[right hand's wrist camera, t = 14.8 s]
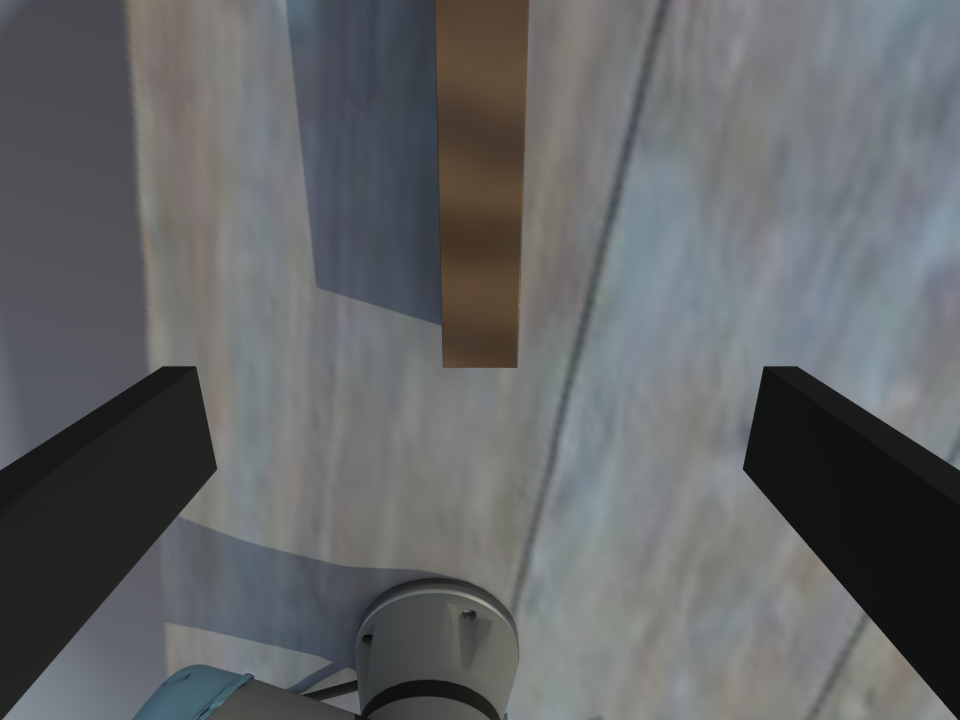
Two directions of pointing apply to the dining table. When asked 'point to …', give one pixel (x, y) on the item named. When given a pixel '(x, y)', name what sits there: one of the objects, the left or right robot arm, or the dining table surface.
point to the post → (481, 176)
